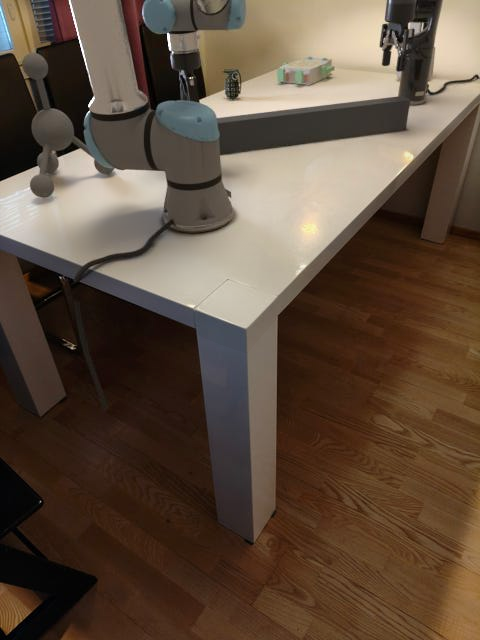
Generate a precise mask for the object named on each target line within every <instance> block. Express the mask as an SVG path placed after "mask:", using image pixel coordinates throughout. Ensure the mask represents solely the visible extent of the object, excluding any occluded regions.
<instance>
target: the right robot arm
mask: <svg viewBox="0 0 480 640" xmlns="http://www.w3.org/2000/svg"><path fill="white" fill-rule="evenodd" d="M443 2H444V0H386V3H385V4H386V5H385V6H386V7H385V14H384V21H385V23H383V24H382V25H381V31H380V39H379V48H381V50H382V58H381V66H383V67H388V66H390V65H391V58H392V49H393V48H395V49H396V51H397V59H396V60H397V61H396V67H395V71H396V72H397V71H398V72H400V71H401V79H400V80H399V85H398V94H397V96H403V97H405V98H408V99H410V106H414V105H421V104H424V103H425V102H426V95H427V94H428V95H430V96H434V95H438V94H440V93H441V92H442V91H444V90H446V89H447V88H446V87H447V85H451V84H463V83H470V82H473V81H474V80H475V79H477V80H478V79H480V76H479V74H474V75H473V76H472V77H471V78H467V79H459V80H458V79H457V80H449V81H446V82H444V83H443V86H442V87H441V88H439V89H438V90H436V91H431V90H430V89H429V88H430V83H429V80H428V79H429V73H430V67H431V61H432V55H433V50H434V47H435V43H436V38H437V37H436V36H437V31H438V25H439V20H440V16H441V11H442V7H443ZM410 23H422V24H423V23H428V26H427V27H426V28H425V29H424V30H423V29H421V32H419V33H416V34H415V29H414V28H413V29H410V28H409V24H410Z"/></svg>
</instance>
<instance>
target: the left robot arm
mask: <svg viewBox="0 0 480 640" xmlns="http://www.w3.org/2000/svg"><path fill="white" fill-rule="evenodd" d="M68 2H69V5H70V9H71V13H72V17H73V21H74V25H75V28H76V32H77V36H78V40H79V44H80V48H81V52H82V56H83V59H84V63H85V66H86V70H87V74H88V78H89V82H90V86H91V90H92V94H93V97H92V99H91V100H90V102H89V104H88V109H89V111H88V112H87V113H86V115H85V117H84V120H83V127H84V130H83V136H84V142H85V145H86V146H87V147H88V150H89V152H90V154H91V155H92V157H91V158H93V159H95V160H96V161H97V162H98V163H99V164H100V165H102V166H104V167H107V168H115V169H114V170H118V171H125V170H127V171H129V170H130V171H149V172H151V171H153V172H164V174H165V180H166V190H165V191H166V192H165V196H164V203H163V207H162V218H163V222H164V225H162V226H161V227H160V228H159V229H157V230H156V231H155V232H154V233H153V234H152V235H150V237H149V238H148V239H147V240H146V243H145V244H144V245H143V246H142V247H140V248H138V249H136V250H131V251H126V252H118V253H112V254H108V255H106V256H105V255H104V256H102V257H99V258H95V259H92V260H90V261H88V262H87V263H85V264H83V265H82V266H81V267H80V268H79V269H78V270H77V272H76V274H75V276H74V278H73V280H72V281H73V283H78V282H79V281H80V280H81V279H82V277H83V275H84V274H85V272H86V271H87V270H88V269H91V268H92V267H94V266H97V265H100V264H104V263H107V262H109V261H112V260H117V259H125V258H132V257H137V256H139V255H142V254H143V253H145V252H146V251H148V250H149V248H150V247H151V245H152V244H153V242H154V241H155V240H156V239H157V238H158V237H159V236H160V235H162V234H163V233H164V232H165V231H166V230H167V229H171V230H173V231H177V232H180V233H190V234H191V233H192V234H193V233H194V234H195V233H196V234H197V233H205V232H206V233H207V232H210V231H215V230H216V229H220V228H222V227H224V226H226V225H227V224H228V223H230V221H231V220H232V218H233V216H234V212H233V211H234V210H233V205H232V201H231V200H230V198H231V199H232V191H230V190H229V189H227V188H226V187H225V184H224V182H223V175H222V174H223V173H222V161H221V159H222V158H221V155H220V145H219V137H220V135H219V130H218V124H217V118H218V117H217V114H216V112H215V111H214V109H212V108H211V107H209V106H208V105H206V104H205V103H201V102H200V96H199V90H198V83H197V82H198V81H197V80H198V79H197V76H196V75H195V74H194V70H198V69H199V68H200V67H201V65H202V64H201V63H202V62H201V52H200V51H199V48H200V44H199V40H200V39H201V34H200V33H199V31H226V32H228V31H233V30H240V29H242V28H243V27H244V25H245V22H246V16H247V3H246V2H247V1H246V0H145V1H144V2H143V5H142V10H141V11H142V12H141V13H142V19H143V22H144V24H145V26H146V28H148V30H150V31H151V32H152V33H154V34H157V35H163V34H165V35H166V34H167V42H168V50H169V51H170V52H171V53H170V54H169V56H170V57H169V58H170V64H171V68H172V69H173V70H174V71H178V73H179V76H178V79H179V88H180V90H179V91H180V99H178V100H167V101H163V102H160V103H159V104H158V105H157V106H156V109H151V107H150V101H149V97H148V96H147V94H146V93H144V92H143V91H141V90H140V89H139V86H138V82H137V76H136V71H135V66H134V61H133V56H132V51H131V45H130V41H129V36H128V31H127V26H126V21H125V16H124V10H123V6H122V1H121V0H68ZM198 33H199V34H198ZM73 304H74V311H75V313H74V314H75V318H76V326H77V331H78V335H79V340H80V343H81V348H82V351H83V355H84V358H85V360H86V363H87V366H88V369H89V371H90V372H89V373H90V374H91V377H92V380H93V383H94V385H95V389H96V391H97V394H98V397H99V400H100V403H101V406H102V410H103V411H107V410H108V404H107V402H106V398H105V395H104V391H103V389H102V386H101V385H102V384H101V383H100V380H99V377H98V374H97V372H96V369H95V366H94V362H93V360H92V357H91V354H90V351H89V347H88V343H87V340H86V336H85V330H84V324H83V320H82V319H83V318H82V311H81V303H80V301H78V300H75V299H74V300H73Z"/></svg>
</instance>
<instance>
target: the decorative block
mask: <svg viewBox="0 0 480 640" xmlns="http://www.w3.org/2000/svg"><path fill="white" fill-rule="evenodd" d="M335 67H336V66H335V65H333V58H327V57H322V58H320V57H312V56H308V57H306V58H303V59H297V60H295V61H292V62H287V61H286V62H282V65H281V66H279V68H277V71H276V72H277V77H276V78H277V80H276V81H277V82H279V83H288V84H298V85H307V86H311V85H312V84H315V83H317V82H320V81H322V80H324V79H326V78H328V77H329V76H330V75H331V74H332V72H333V71H335Z"/></svg>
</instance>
